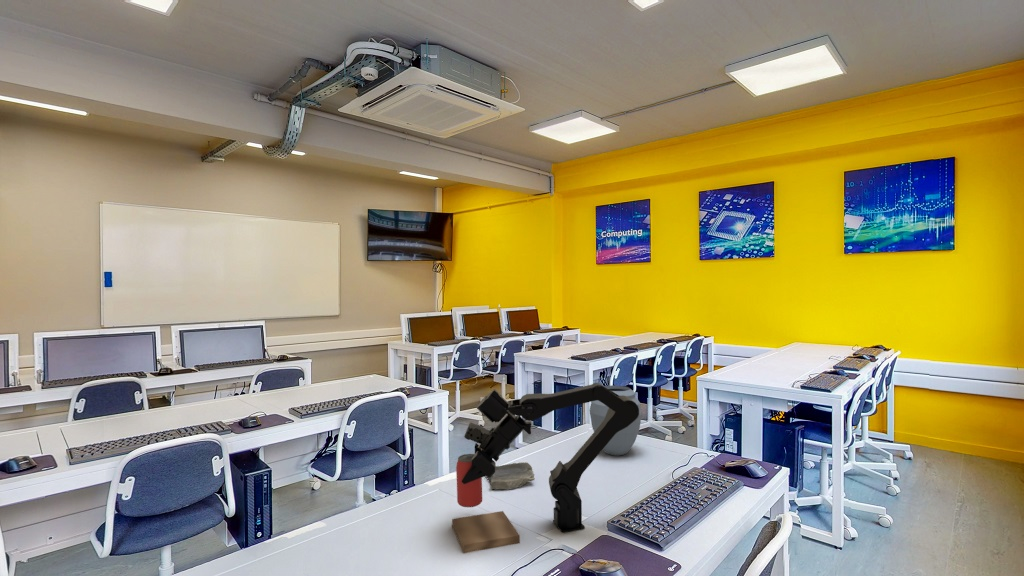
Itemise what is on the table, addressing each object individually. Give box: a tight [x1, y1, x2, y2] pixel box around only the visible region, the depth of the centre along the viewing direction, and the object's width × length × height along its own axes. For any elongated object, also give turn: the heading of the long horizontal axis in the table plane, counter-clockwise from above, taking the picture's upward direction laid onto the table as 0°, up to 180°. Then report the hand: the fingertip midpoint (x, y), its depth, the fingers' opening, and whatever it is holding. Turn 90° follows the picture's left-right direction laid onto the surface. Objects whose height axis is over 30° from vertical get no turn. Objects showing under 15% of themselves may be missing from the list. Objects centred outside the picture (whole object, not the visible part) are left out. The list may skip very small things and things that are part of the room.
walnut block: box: [451, 510, 521, 554], centre depth 126 cm, size 14×14×2 cm
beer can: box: [455, 453, 483, 508], centre depth 130 cm, size 7×7×12 cm
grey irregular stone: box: [486, 462, 536, 491], centre depth 162 cm, size 15×16×4 cm
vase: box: [589, 385, 643, 456], centre depth 188 cm, size 20×20×24 cm
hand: (464, 477), depth 130 cm, fingers closed on beer can, 6 cm apart
